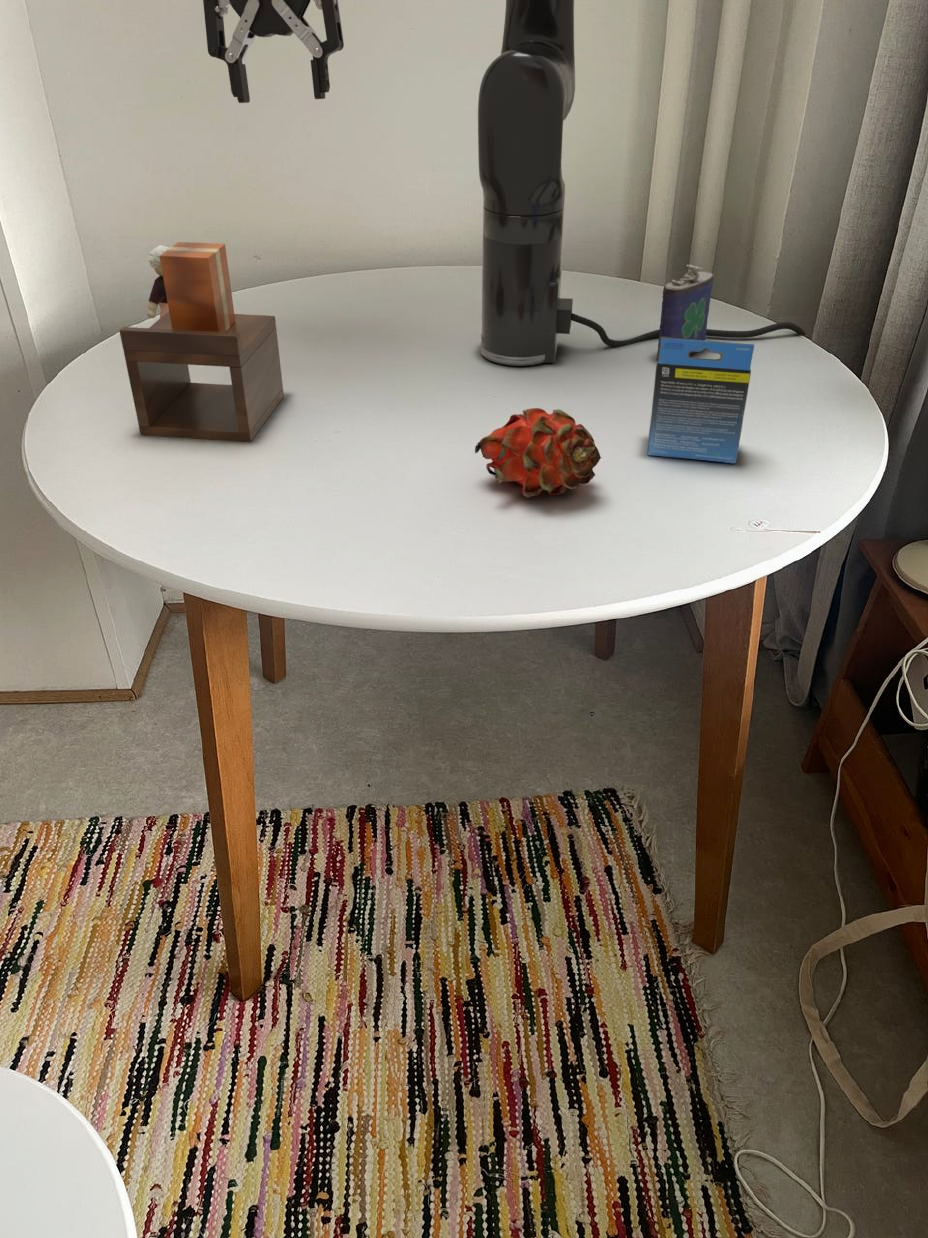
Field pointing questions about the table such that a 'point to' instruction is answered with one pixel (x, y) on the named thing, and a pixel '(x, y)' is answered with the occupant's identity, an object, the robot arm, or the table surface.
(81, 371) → the table surface
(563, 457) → the dragon fruit
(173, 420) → the shelf
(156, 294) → the grandmother figurine
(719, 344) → the tape cartridge
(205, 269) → the block
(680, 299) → the flask
